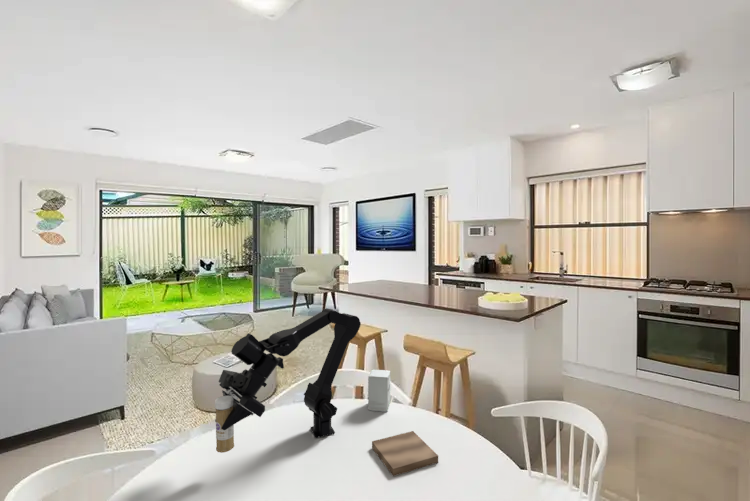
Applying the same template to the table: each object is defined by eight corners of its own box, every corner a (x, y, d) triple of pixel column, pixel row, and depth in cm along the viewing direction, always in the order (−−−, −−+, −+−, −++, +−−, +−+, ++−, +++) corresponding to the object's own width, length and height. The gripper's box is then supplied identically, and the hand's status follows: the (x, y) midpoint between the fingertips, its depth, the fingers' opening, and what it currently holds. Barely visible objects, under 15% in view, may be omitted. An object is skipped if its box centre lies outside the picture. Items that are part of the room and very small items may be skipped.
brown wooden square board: (372, 447, 107) (372, 441, 107) (413, 437, 113) (413, 430, 112) (393, 476, 94) (393, 468, 94) (438, 462, 100) (438, 455, 100)
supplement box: (387, 412, 129) (387, 377, 128) (367, 410, 130) (367, 376, 130) (391, 403, 136) (390, 370, 136) (371, 401, 138) (371, 368, 137)
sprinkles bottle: (212, 451, 94) (210, 401, 94) (224, 442, 98) (223, 393, 98) (226, 454, 93) (225, 403, 92) (238, 445, 97) (237, 396, 96)
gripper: (225, 350, 104) (185, 399, 97) (252, 367, 90) (207, 426, 83) (252, 370, 110) (216, 418, 103) (281, 388, 96) (241, 445, 89)
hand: (219, 425), depth 94 cm, fingers closed on sprinkles bottle, 4 cm apart
